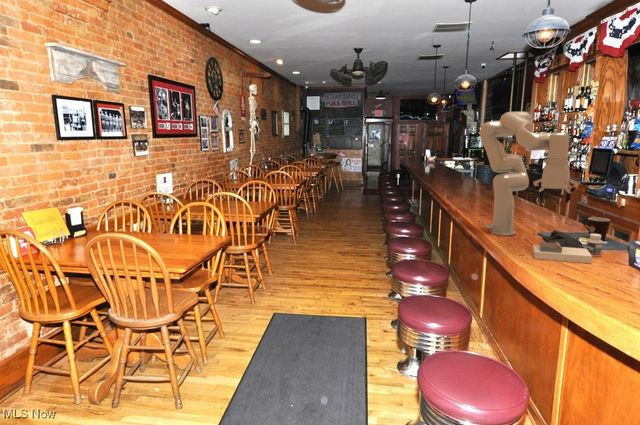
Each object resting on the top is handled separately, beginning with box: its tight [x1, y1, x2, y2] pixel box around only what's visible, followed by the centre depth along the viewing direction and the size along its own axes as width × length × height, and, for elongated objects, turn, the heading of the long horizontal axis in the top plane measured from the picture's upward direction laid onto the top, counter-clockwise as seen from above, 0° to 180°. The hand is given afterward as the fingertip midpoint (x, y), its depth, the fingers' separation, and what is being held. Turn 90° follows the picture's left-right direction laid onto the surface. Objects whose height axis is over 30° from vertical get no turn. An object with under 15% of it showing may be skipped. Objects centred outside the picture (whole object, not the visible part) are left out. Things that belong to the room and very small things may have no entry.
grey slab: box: [539, 241, 562, 253], centre depth 166 cm, size 8×8×3 cm
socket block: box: [532, 244, 593, 264], centre depth 165 cm, size 20×11×3 cm, turn 66°
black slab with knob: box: [542, 229, 587, 249], centre depth 184 cm, size 15×22×5 cm
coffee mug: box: [582, 216, 611, 242], centre depth 190 cm, size 12×9×10 cm
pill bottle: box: [586, 234, 603, 258], centre depth 166 cm, size 5×5×9 cm
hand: (554, 201), depth 172 cm, fingers open, 9 cm apart
